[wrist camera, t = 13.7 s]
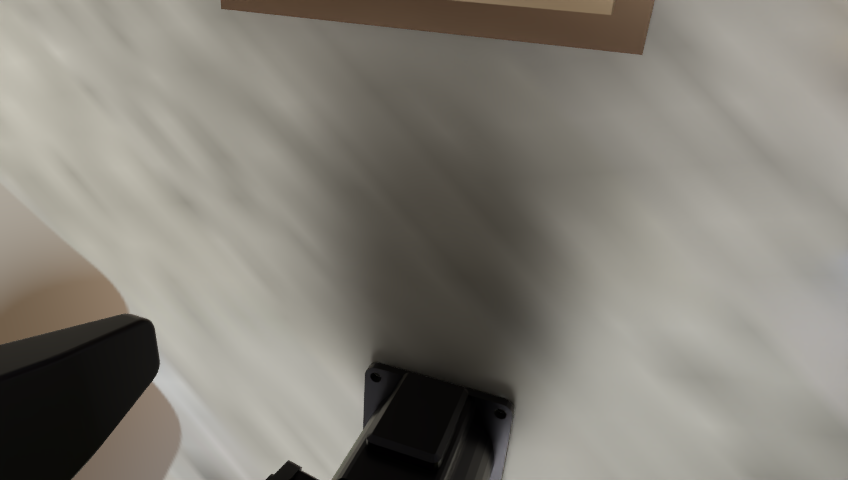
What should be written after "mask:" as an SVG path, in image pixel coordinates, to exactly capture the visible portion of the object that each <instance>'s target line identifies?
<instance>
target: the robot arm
mask: <svg viewBox="0 0 848 480" xmlns="http://www.w3.org/2000/svg"><path fill="white" fill-rule="evenodd" d="M159 365H160V359H159V353H158V346H157V340H156V334H155V328H154V325H153V324H152V322H151V321H150V320H148V319H146V318H143V317H139V316H136V315H133V314H121V315H117V316H113V317H109V318H105V319H101V320H98V321H94V322H89V323H85V324H81V325H77V326H73V327H70V328H65V329H61V330H57V331H54V332H49V333H45V334H41V335H38V336H34V337H30V338H26V339H22V340H18V341H14V342H10V343H6V344H2V345H0V480H71V479H72V478H73V477H74V476H75V475H76V474H77V473H78V472H79V471H80V470H81V469H82V468H83V466H84V465H85V464H86V463H87V462H88V461H89V460H90V459H91V457H92V456H93V455H94V454H95V453H96V451H97V450H98V449H99V448H100V447H101V445H102V444H103V443H104V441H105V440H106V439H107V437H108V436H109V435H110V434H111V433H112V431H113V430H114V429H115V428H116V426H117V425H118V424H119V423H120V421H121V420H122V419H123V417H124V416H125V415H126V414H127V412H128V411H129V410H130V409H131V407H132V406H133V405H134V404H135V402H136V401H137V400H138V398H139V397H140V396H141V395H142V393H143V392H144V391H145V390H146V388H147V387H148V386H149V385H150V383H151V382H152V381H153V379H154V378H155V376H156V375H157V373H158V370H159ZM375 373H377V374H379V375H380V376H381V377H378V376H377V375H376V374H375ZM497 409H502V410H504V411H505V412H506V413H501V412H499V411H498V410H497ZM513 416H514V406H513V404H512V403H511V402H510V401H509V400H507V399H505V398H501V397H498V396H494V395H491V394H487V393H484V392H480V391H477V390H473V389H470V388H466V387H463V386H459V385H456V384H452V383H449V382H445V381H442V380H438V379H435V378H431V377H428V376H424V375H421V374H417V373H414V372H410V371H407V370H403V369H400V368H396V367H393V366H389V365H386V364H382V363H372V364H371V365H370V366H369V368H368V369H367V371H366V373H365V392H364V420H363V431H362V432H361V434H360V436H359V437H358V439H357V440H356V442H355V443H354V445H353V447H352V448H351V450H350V451H349V453H348V455H347V456H346V458H345V459H344V461H343V463H342V464H341V466H340V467H339V469H338V470H337V472H336V474H335V475H334V477H333V478H332V480H502V476H503V471H504V465H505V460H506V454H507V449H508V443H509V438H510V432H511V427H512V421H513ZM301 469H302V467H300V466H298V465H296V464H295V463H293V462H291V461H289V460H288V461H287V462H286V463H285V464H284V465H283V466H282V467H281V468H280V469H279V470H278V471H277V472H276V473H275V474H274V475H273V474H271V475H270V476H269V477H268V478H267V479H266V480H318V479H317V478H315V477H313V476H311V475H309V474H307V473H306V472H304V471H302V470H301Z"/></svg>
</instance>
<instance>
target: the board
mask: <svg viewBox="0 0 848 480" xmlns="http://www.w3.org/2000/svg"><path fill="white" fill-rule="evenodd" d="M654 1H655V0H221V9H228V10H237V11H246V12H255V13H265V14H274V15H283V16H292V17H301V18H310V19H319V20H329V21H338V22H347V23H356V24H365V25H374V26H383V27H393V28H402V29H411V30H420V31H429V32H438V33H448V34H457V35H466V36H475V37H484V38H493V39H502V40H512V41H521V42H530V43H539V44H548V45H557V46H566V47H576V48H585V49H594V50H603V51H612V52H621V53H630V54H640V55H642V53H643V49H644V44H645V40H646V36H647V31H648V27H649V22H650V18H651V14H652V9H653V5H654Z"/></svg>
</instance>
